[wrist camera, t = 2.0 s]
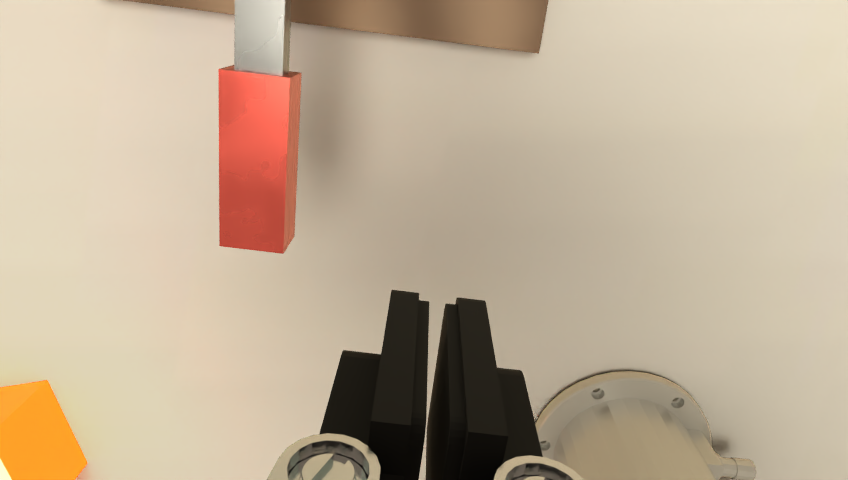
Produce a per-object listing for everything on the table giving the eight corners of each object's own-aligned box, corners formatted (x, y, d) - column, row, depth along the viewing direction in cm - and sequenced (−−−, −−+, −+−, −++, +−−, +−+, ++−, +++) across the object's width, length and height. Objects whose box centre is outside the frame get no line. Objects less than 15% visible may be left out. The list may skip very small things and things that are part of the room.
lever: (322, -200, 20) (305, -231, 18) (301, 237, 26) (286, 261, 23) (228, -212, 20) (197, -245, 18) (228, 228, 26) (205, 252, 23)
